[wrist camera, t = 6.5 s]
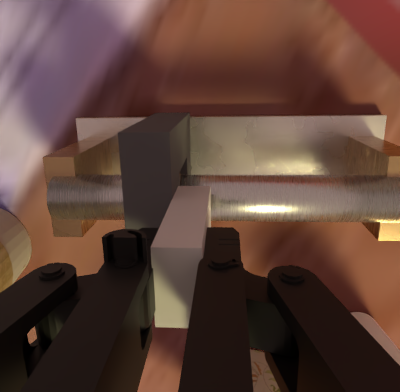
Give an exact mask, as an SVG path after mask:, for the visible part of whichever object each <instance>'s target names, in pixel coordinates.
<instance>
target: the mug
mask: <svg viewBox="0 0 400 392" xmlns="http://www.w3.org/2000/svg"><path fill="white" fill-rule="evenodd" d="M250 355H251V367H252V379H253V391H254V392H281V391H280V389H279V387H278V385H277V383H276V381H275V378H274V376H273V374H272V372H271V370H270V368H269V366H268V364H267V362H266V359H265V354H264V352H261V351H258V350H251V349H250Z"/></svg>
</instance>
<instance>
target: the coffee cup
mask: <svg viewBox="0 0 400 392" xmlns="http://www.w3.org/2000/svg"><path fill="white" fill-rule="evenodd" d="M31 251H32V248H31V241H30V237H29V235H28V233H27V231H26V229H25V227H24V226H23V225H22V223H21V222H20V221H19V220H18V219H17V218H16V217H15V216H13V215H12V214H10V213H9V212H7V211H5V210H3V209H1V208H0V292H2V291H3V290H5V289H6V288H8V287H9V286H11V285H12V284H13V283H14V282H15V281H16V279H17V278H18V277H19V275H20V274H21V273H22V271H23V270H24V269H25V267H26V266H27V264H28V263H29V260H30V257H31Z"/></svg>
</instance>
